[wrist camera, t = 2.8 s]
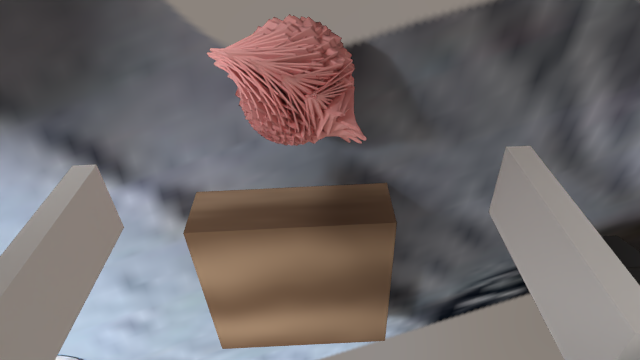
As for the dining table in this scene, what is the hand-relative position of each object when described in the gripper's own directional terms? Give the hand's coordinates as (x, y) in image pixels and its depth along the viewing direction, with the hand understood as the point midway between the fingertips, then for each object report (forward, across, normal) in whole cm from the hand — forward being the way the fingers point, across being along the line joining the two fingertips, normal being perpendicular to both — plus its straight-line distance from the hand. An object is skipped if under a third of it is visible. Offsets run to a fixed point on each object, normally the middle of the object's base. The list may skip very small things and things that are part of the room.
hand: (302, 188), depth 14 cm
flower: (+10, 0, 0) cm, 10 cm away
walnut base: (+10, -1, -14) cm, 17 cm away
